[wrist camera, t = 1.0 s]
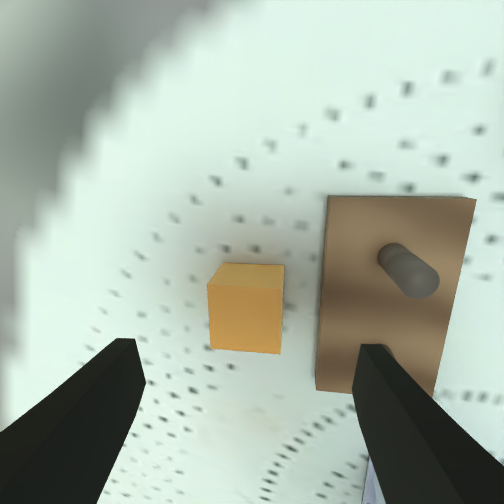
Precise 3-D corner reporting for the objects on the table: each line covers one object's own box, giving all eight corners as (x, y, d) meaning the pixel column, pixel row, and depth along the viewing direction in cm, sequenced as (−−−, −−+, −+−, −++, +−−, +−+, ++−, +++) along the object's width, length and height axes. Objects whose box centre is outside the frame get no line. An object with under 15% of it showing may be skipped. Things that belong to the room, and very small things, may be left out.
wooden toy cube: (282, 320, 24) (280, 354, 20) (225, 316, 25) (210, 348, 21) (284, 265, 23) (281, 288, 18) (223, 262, 23) (207, 284, 19)
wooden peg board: (423, 387, 24) (462, 456, 18) (314, 377, 25) (320, 439, 20) (463, 196, 19) (533, 210, 14) (327, 195, 21) (340, 207, 15)
